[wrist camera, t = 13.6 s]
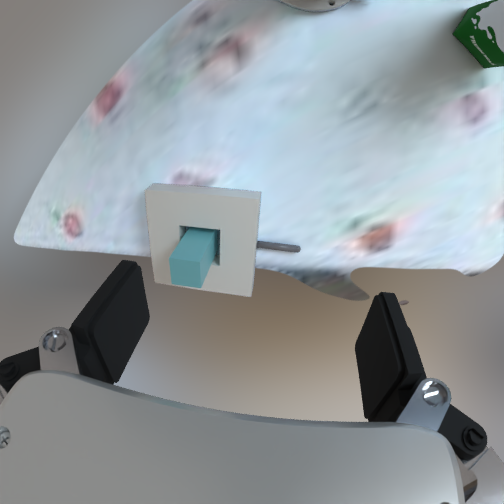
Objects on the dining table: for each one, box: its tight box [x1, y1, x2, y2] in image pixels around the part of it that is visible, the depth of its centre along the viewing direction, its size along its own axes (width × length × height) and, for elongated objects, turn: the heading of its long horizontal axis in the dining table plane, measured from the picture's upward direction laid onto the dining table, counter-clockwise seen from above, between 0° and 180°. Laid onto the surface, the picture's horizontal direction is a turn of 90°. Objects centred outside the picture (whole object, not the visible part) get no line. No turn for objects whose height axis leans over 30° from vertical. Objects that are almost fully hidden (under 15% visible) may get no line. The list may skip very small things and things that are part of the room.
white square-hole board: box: [145, 183, 301, 297], centre depth 44 cm, size 22×16×3 cm
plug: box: [169, 227, 218, 288], centre depth 41 cm, size 4×4×10 cm
